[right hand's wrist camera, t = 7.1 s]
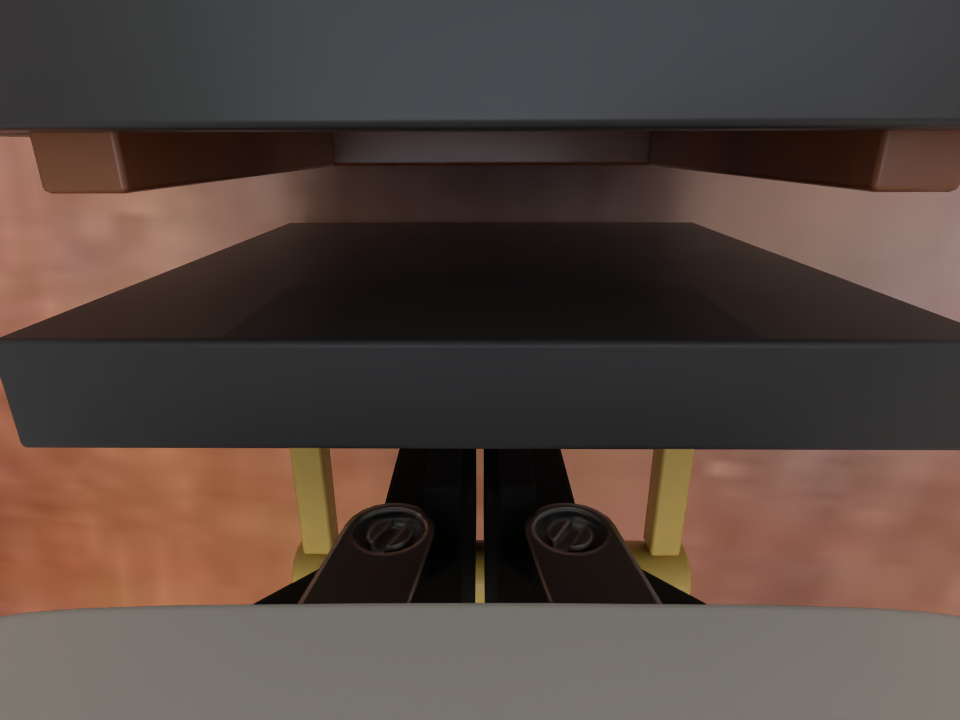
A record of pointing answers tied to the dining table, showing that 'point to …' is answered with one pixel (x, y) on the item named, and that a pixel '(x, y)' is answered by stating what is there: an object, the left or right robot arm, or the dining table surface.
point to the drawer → (492, 321)
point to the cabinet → (477, 65)
